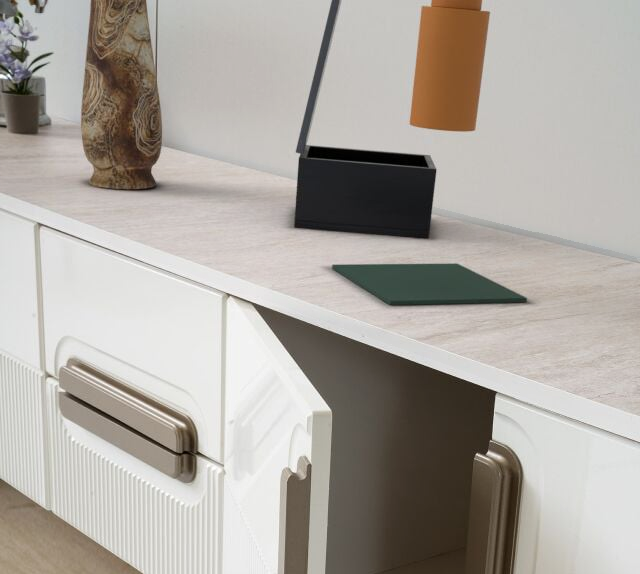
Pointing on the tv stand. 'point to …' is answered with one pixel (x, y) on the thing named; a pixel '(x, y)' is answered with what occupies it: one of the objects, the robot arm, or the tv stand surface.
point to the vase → (120, 96)
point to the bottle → (449, 65)
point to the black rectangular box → (365, 191)
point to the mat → (426, 284)
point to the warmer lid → (318, 75)
